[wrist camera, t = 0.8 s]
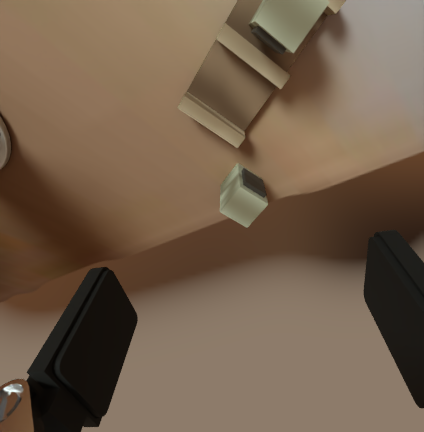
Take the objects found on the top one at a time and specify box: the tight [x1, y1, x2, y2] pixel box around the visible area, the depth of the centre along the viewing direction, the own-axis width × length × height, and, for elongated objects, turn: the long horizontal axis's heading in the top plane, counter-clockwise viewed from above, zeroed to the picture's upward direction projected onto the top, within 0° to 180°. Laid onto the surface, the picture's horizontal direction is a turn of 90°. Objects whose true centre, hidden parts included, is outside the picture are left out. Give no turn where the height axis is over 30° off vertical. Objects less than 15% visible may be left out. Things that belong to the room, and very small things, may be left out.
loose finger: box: [220, 163, 268, 227], centre depth 35 cm, size 4×4×7 cm
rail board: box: [177, 0, 346, 148], centre depth 27 cm, size 16×8×8 cm, turn 147°
